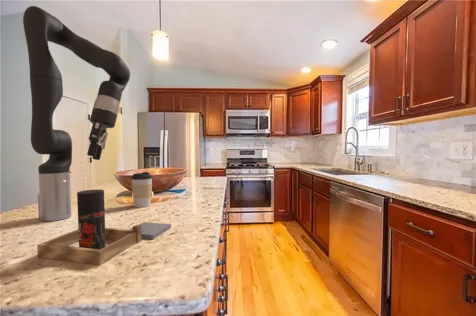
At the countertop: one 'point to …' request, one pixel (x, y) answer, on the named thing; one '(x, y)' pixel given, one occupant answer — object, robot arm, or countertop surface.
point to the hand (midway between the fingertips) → (93, 157)
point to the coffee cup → (142, 189)
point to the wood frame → (63, 251)
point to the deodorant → (91, 219)
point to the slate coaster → (153, 229)
